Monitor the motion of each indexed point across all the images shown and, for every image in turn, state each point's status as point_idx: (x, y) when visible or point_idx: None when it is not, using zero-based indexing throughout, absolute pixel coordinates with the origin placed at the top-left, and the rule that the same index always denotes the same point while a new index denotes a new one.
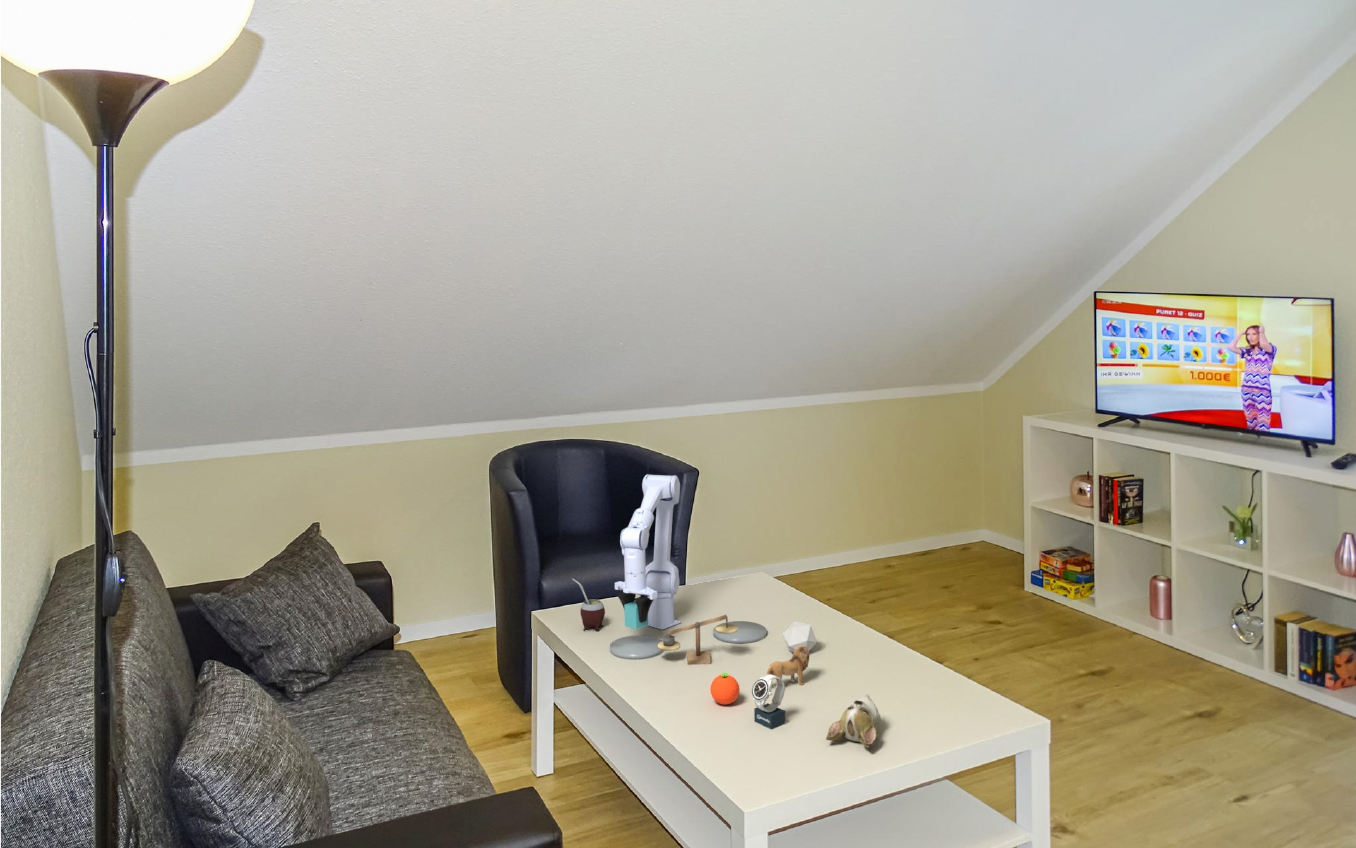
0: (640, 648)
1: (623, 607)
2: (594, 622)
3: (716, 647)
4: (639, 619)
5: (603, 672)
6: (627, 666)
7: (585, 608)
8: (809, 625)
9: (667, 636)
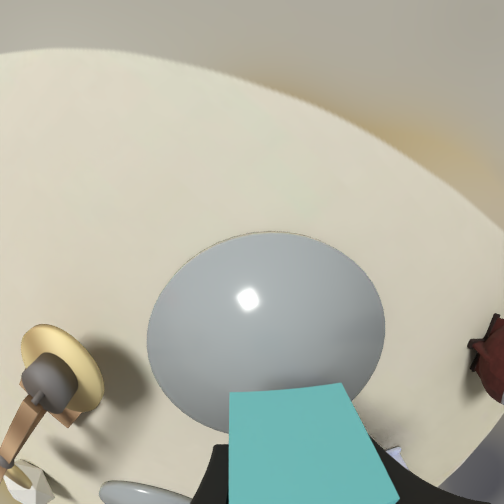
0: (226, 343)
1: (409, 471)
2: (493, 345)
3: (112, 460)
4: (224, 458)
5: (179, 70)
6: (146, 185)
7: None
8: (13, 497)
9: (50, 398)
